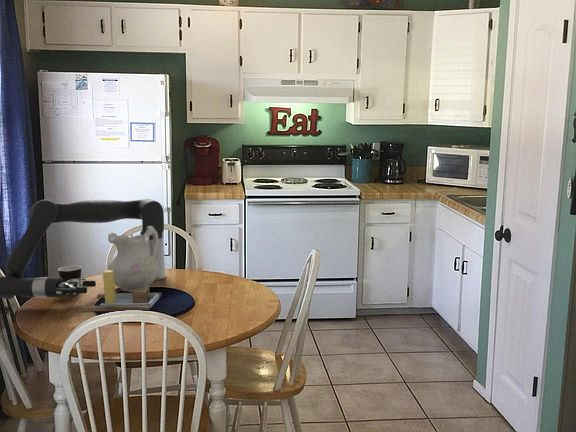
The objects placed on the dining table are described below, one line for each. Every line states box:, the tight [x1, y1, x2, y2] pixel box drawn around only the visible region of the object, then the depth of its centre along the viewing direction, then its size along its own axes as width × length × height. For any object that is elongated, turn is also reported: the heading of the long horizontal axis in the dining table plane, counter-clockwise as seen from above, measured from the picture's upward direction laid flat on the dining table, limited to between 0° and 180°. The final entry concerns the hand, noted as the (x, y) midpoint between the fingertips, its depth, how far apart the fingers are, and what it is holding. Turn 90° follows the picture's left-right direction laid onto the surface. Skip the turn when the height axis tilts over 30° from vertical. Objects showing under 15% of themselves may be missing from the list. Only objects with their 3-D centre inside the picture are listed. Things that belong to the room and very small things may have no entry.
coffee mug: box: [57, 265, 82, 296], centre depth 264 cm, size 12×9×10 cm
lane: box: [81, 292, 162, 312], centre depth 244 cm, size 18×24×2 cm
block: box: [131, 287, 151, 303], centre depth 243 cm, size 5×5×5 cm
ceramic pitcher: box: [107, 225, 159, 293], centre depth 263 cm, size 22×20×25 cm
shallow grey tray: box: [99, 269, 161, 309], centre depth 243 cm, size 13×18×13 cm
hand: (91, 286), depth 244 cm, fingers open, 8 cm apart
